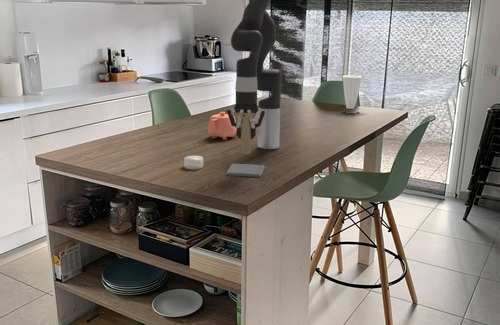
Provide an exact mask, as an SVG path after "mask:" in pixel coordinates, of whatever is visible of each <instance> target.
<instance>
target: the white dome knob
mask: <svg viewBox="0 0 500 325" xmlns="http://www.w3.org/2000/svg"><path fill="white" fill-rule="evenodd" d="M183 161H184V163H183V164H184V165H183V167H184V169H187V170H200V169H203V168H204V157H203V156H200V155H187V156H185V157H184V160H183Z"/></svg>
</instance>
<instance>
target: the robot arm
mask: <svg viewBox="0 0 500 325" xmlns="http://www.w3.org/2000/svg"><path fill="white" fill-rule="evenodd" d="M270 1H271V0H248V3H247V5H246V7H245V9H244V12H243V15H242V18H241V21H240V22H239V24H238V25H237V26H236V28H235V29H234V30H233V32H232V35H231V37H230V45H231V48H232V49H233V50H234V51H237V52H250V54H249V56H248V57H245V58H239V59H237V60H236V71H235V72H236V77H235V86H234V87H235V89H234V90H235V105H234V107H233V108H228V109H227V110H226V114H228V116H229V119H230V122H231V125H232V126H235V127H236V128H237V132H236V137H237V138H238V139H241V123H242V117H240V116H237V122H235V120H236V118H235V119H234V117H235V115H234V114H235V113H236V114H237V113H238V112H240V113H255V115H256V114H258V116H257V122H256V119H255V116H254V117H251V118H249V119H250V122H251V139H252V140H253V139H254V138H256V134H257V148H259V149H263V150H276V149H279V148H280V130H281V129H280V128H281V125H280V123H281V96H282V93H281V92H282V83H283V82H282V79H283V78H282V76H283V75H282V72H281V70H280V69H275V68H274V69H272V68H271V69H270V68H264V64H265V60H266V59H267V56H268V55H269V53H270V52H271V50H272V48H273V47H274V45H275V43H276V24H275V21H274V19H273V18H272V16H271V15H270V13H269V12H268V11H267V8H268V5H269V3H270ZM258 91H259V92H271V95H270V96H268V97H266V98H261V99H260V100H259V101H258ZM234 111H235V112H234ZM240 113H239V114H240ZM233 115H234V116H233Z"/></svg>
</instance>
